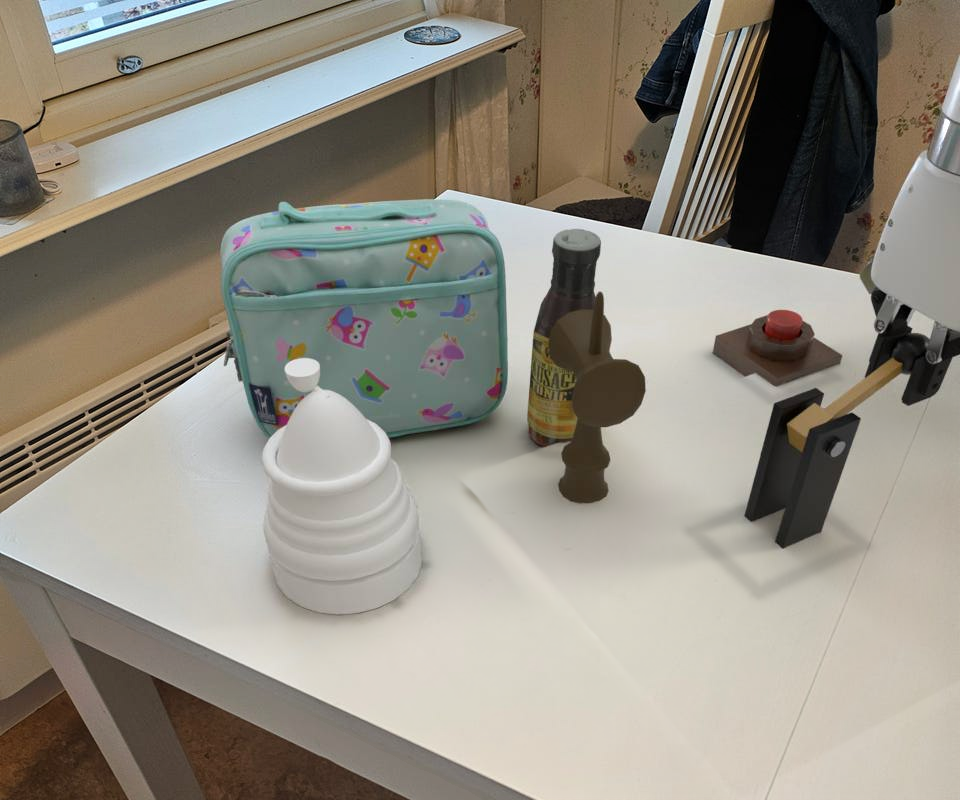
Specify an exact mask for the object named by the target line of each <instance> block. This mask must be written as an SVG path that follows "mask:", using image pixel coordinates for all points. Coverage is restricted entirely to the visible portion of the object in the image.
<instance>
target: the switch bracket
mask: <svg viewBox="0 0 960 800" xmlns="http://www.w3.org/2000/svg"><path fill="white" fill-rule="evenodd" d="M824 396H825V392H823V391H821V390H820V389H819V388H818V387H814V388H811V389H809V390H806V391H803V392H800V393H797V394H795V395H792V396H790V397H786V398H784V399H782V400H779V401H776V402H774V403H773V405H772V408H771V409H772V410H771V414H770V417H769V421H768V425H767V429H766V433H765V436H764V440H763V444H762V448H761V451H760V455H759V459H758V461H757V462H758V463H757V466H756V470H755V474H754V478H753V481H752V486H751V489H750V493H749V496H748V500H747V504H746V507H745V512H744V517H745V518H746V519H747V520H748V521H749V522H750V523H754V522H756V521H758V520H760V519H763V518H765V517H767V516H770V515H772V514H774V513H777V512H780V511H781V510H784V511H783V514H782V517H781V520H780V524H779V526H778V527H779V528H778V531H777V534H776V538H775V541H774V543H775V544H776V545H778V546H779V547H780V548H781V549H785V548H788V547H790V546H792V545H795V544H797V543H800V542H801V541H804V540H806V539H809V538H811V537H813V536H815V535H818V534H820V533H822V531H823V528H824V525H825V522H826V519H827V516H828V514H829V511H830V508H831V506H832V503H833V500H834V496H835V494H836V491H837V489H838V485H839V482H840V480H841V477H842V474H843V471H844V469H845V466H846V463H847V460H848V457H849V454H850V451H851V449H852V445H853V442H854V440H855V438H856V435H857V432H858V429H859V426H860V424H861V421H862V417H860V416H859V415H857V414H855V413H854V412H852V411H850V412H849V413H848V414H846V415H844V416H841V417H839V418H836V419H833V420H831V421H828V422H826V423H823V424H820V425H818V426H815V427H813V428H810V429H809V432H808V436H807V439H806V442H805V445H804V449H803V452H801V451H799V450H798V449H797V448H795V447H794V446H793V445H791V444H790V443H789V436H788V429H787V423H789V422H790V421H791V420H792V419H794V418H795V417H796V416H798V415H799V414H800V413H802V412H803V411H804V410H806V409H807V408H808V407H810V406H811V405H812V404H814V403H816V404H817V405H819V406H820V407H822V403H823V399H824Z"/></svg>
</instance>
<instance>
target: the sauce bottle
mask: <svg viewBox="0 0 960 800" xmlns="http://www.w3.org/2000/svg"><path fill="white" fill-rule="evenodd" d="M552 240H553V242H552V250H551V253H552V257H553V262H552V275H551V279H550V287H549V289H548V291H547V293H546V295H545V296H544V297H543V299H542V301H541V302H540V306H539V309H538V314H537V317H536V321H535V325H534V329H533V333H532V334H533V335H532V347H531V357H530V359H531V362H530V373H529V385H528V386H529V387H528V401H527V413H526V419H527V425H528V435H529V437H530V438H531V439H532V441H534V442H535V443H536V444H537V445H539V446H541V447H542V448H546V447H549V446H550V447H551V446H552V445H555V444H559V443H567V442H571V440H572V437H573V434H574V431H575V427H576V423H577V419H578V418H577V416H576V415H575V413H574V412H573V405H572V394H573V390H574V386H575V382H576V380H577V378H576V376H575V374H574V372H573V371H567V370H565V369H562V368H560V367H558V366H556V365H555V363H554V362H553V360H552V359H551V357H550V354H549V347H548V342H549V337H550V333H551V330H552V328H553V327H554V325H555V324H556V322H557V320H559V319H560V318H562V317H563V316H564V315H566V314H567V313H569V312H573V311H577V310H580V309H587V310H593V309H594V302H595V298H596V293H595V287H596V282H595V278H596V271H597V262H598V260H599V259H600V256H601V251H602V250H601V249H602V246H601V245H602V240H601V237H599V236H598V234H596V233H595V232H592V231H590V230H585V229H583V228H581V229H580V228H571V229H564V230H561V231H558V232H557V233H556V234H555V235H554V237H553V239H552Z"/></svg>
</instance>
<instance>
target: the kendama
mask: <svg viewBox="0 0 960 800" xmlns="http://www.w3.org/2000/svg"><path fill="white" fill-rule="evenodd" d="M595 296H596V298H595V302H594V309H593V310H587V309H580V310H577V311H573V312H569V313H567V314H566V315H564V316H563V317H562V318H560V319H559V320H557V322H556V324H555V325H554V327H553V328H552V330H551V333H550V337H549V342H548V347H549V354H550V357H551V359H552V360H553V362H554V363H555V365H556V366H558V367H560V368H562V369H565V370H567V371H573V372H574V374H575V376H576V378H577V380H576V382H575V386H574V390H573V394H572V405H573V412H574V413H575V415H576V416H577V418H578V419H577V423H576V427H575V431H574V434H573V437H572V440H571V441H569V443H567V444H565V445H564V446H563V449H562V451H561V453H560V455H561V461H562V463H563V464H564V466H565V467H564V473H563V476H562V477H561V478H560V479H559V481H558V483H557V487H558V492H559V493H560V494H561V496H562V497H563V498H564V499H566V500H567V501H569V502H571V503H575V504H581V505H583V504H593V503H596V502H600V501H602V500H604V499H605V498H606V497H607V496H608V494H609V492H610V490H609V485H608V483H607V481H606V480H605V470H606V469H608V467H609V466H610V463H611V455H610V451H609V450H608V449H607V447H605V445H604V443H603V436H602V428H609V427H613V426H616V425H621V424H623V422H626V421H627V420H628V419H630V418H632V417H633V416H634V415H635V413H636V412H637V411H638V410H639V409H640V407H641V405H642V403H643V400H644V397H645V394H646V391H647V390H646V389H647V388H646V387H647V386H646V377H645V375H644V373H643V371H642V369H641V367H640V365H639V364H636V363H634V362H633V361H631V360H628V359H623V358H622V359H621V358H613V356H612V354H611V352H610V351H611V345H612V341H613V337H612V325H611V323H610V321H609V320H608V318H607V316H606V315H605V297H604V293H603V292H602V291H597V293H596V294H595Z"/></svg>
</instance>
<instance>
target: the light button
mask: <svg viewBox="0 0 960 800" xmlns="http://www.w3.org/2000/svg"><path fill="white" fill-rule="evenodd" d="M767 315H768V317H767V321H766V325H765V329H764V332H765V334H766V335H768V336H769V337H771V338H775V339H779V340H793V339H796V338H797V337H798V336H799V333H800V329H801V325H802V321H804V319H803V317H802V315H800V314H799V313H797V312H795V311H793V310H789V309H776V310H772V311H770V312H769V313H768V314H767Z"/></svg>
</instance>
